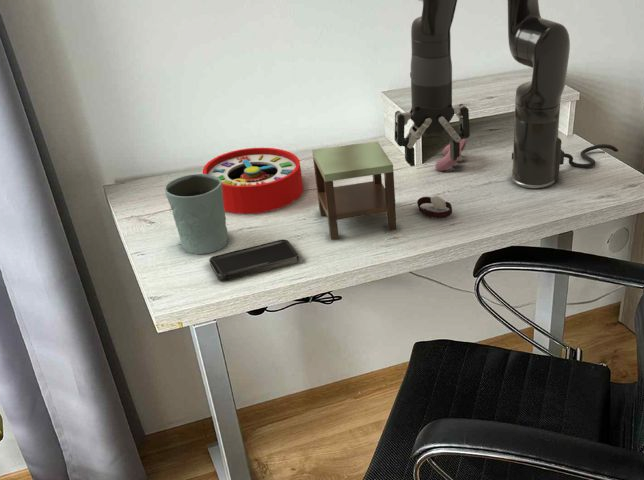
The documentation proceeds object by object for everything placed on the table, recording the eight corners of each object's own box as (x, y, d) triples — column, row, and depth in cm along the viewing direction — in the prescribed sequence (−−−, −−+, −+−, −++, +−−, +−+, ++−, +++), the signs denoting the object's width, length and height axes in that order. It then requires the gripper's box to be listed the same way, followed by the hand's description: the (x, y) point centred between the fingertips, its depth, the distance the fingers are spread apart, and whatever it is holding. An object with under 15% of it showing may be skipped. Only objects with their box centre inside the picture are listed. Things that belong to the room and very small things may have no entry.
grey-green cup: (182, 260, 150) (168, 200, 143) (174, 236, 158) (160, 178, 151) (237, 248, 154) (226, 190, 146) (227, 225, 161) (215, 169, 154)
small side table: (381, 203, 168) (377, 141, 160) (396, 229, 159) (393, 164, 151) (319, 212, 165) (312, 149, 157) (331, 240, 156) (324, 174, 148)
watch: (456, 213, 164) (456, 196, 162) (444, 222, 161) (444, 206, 159) (424, 204, 168) (424, 188, 166) (412, 213, 164) (411, 197, 162)
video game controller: (451, 179, 181) (465, 153, 177) (433, 169, 180) (446, 143, 176) (459, 161, 189) (473, 136, 184) (442, 152, 188) (455, 126, 184)
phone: (207, 257, 149) (286, 238, 154) (208, 263, 149) (287, 243, 155) (219, 277, 143) (300, 256, 148) (220, 282, 144) (301, 261, 149)
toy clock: (216, 195, 159) (192, 158, 173) (221, 222, 162) (197, 184, 177) (313, 174, 166) (283, 141, 181) (316, 200, 170) (286, 165, 184)
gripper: (399, 88, 144) (402, 174, 153) (475, 80, 147) (473, 164, 157) (388, 75, 149) (392, 159, 159) (461, 68, 153) (461, 150, 162)
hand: (432, 162), depth 158 cm, fingers open, 8 cm apart
